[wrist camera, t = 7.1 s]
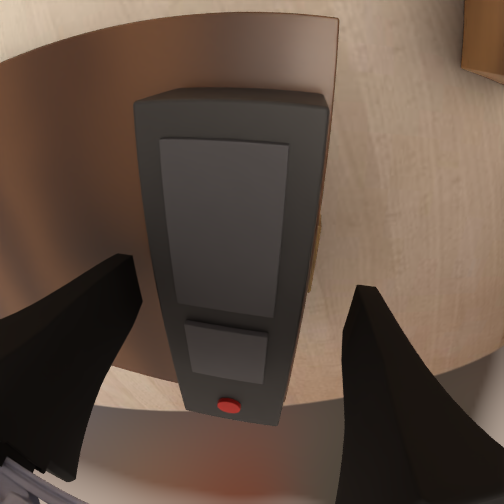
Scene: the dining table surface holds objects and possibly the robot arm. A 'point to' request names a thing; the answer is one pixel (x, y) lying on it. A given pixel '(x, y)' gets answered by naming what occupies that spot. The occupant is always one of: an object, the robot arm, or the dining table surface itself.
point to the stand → (484, 38)
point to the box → (125, 145)
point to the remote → (231, 235)
